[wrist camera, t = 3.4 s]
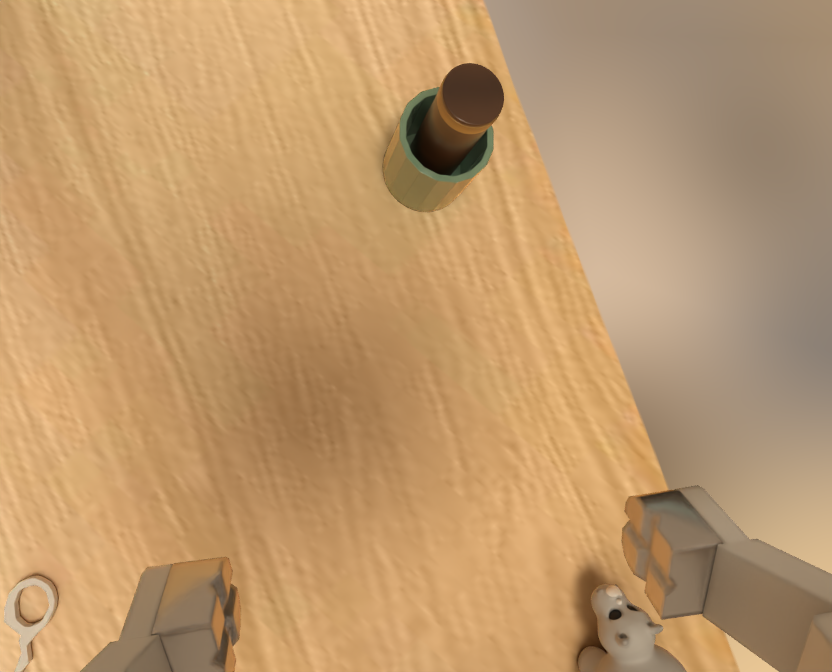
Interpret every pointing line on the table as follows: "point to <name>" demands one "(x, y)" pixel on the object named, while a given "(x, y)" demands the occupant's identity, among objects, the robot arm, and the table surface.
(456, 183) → the tumbler
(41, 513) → the table surface
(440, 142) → the rod
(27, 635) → the scissors
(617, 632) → the chubby cartoon animal
